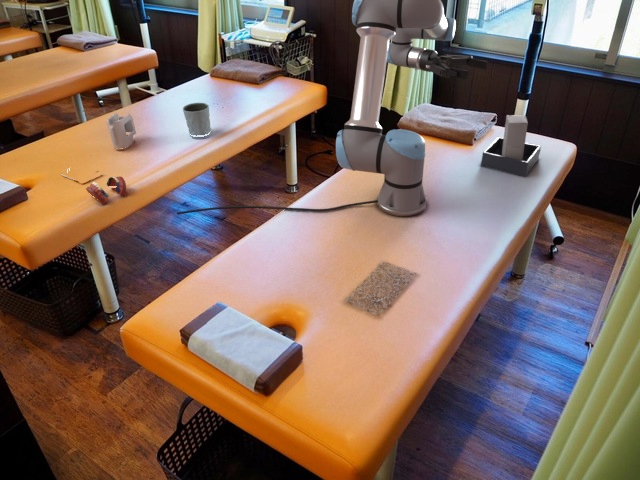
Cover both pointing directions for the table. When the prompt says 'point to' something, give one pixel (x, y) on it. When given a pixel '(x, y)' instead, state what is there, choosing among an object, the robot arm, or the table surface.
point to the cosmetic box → (514, 136)
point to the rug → (381, 288)
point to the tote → (510, 165)
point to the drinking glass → (197, 119)
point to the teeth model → (113, 181)
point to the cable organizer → (121, 130)
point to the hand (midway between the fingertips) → (477, 70)
